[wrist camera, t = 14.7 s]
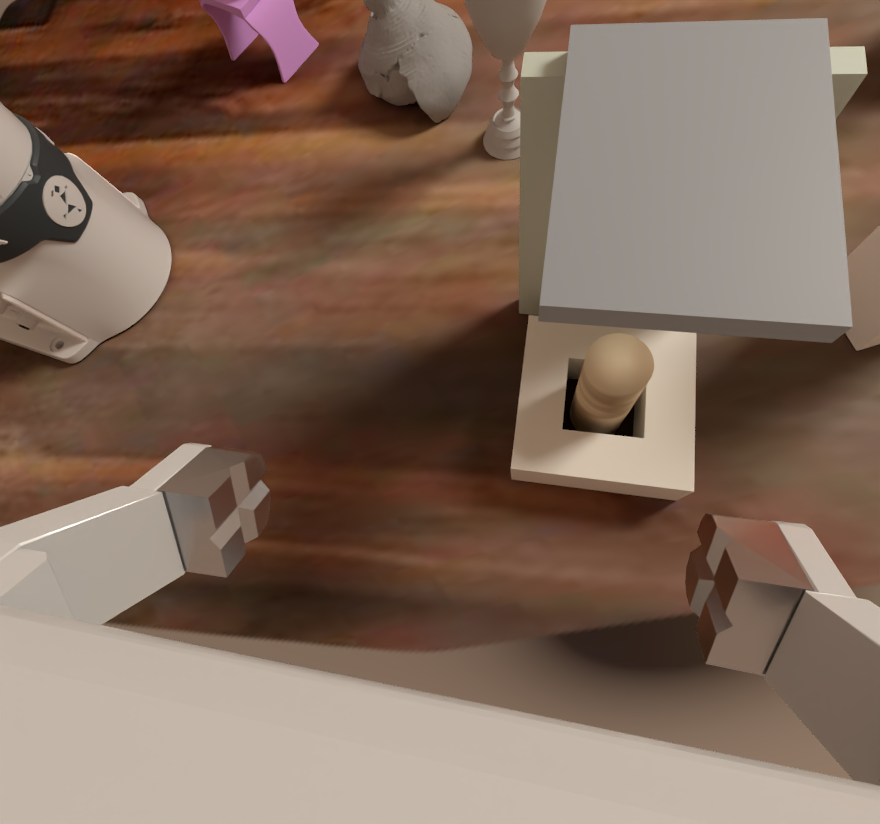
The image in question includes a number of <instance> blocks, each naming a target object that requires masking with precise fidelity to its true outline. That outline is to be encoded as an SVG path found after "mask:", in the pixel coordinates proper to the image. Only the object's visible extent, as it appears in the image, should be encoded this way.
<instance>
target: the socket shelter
mask: <svg viewBox="0 0 880 824" xmlns="http://www.w3.org/2000/svg"><path fill="white" fill-rule="evenodd" d="M867 74H868V73H867V64H866V55H865V46H857V47H830V46H829V34H828V22H827V18H815V19H777V20H739V21H701V22H664V23H626V24H588V25H571V30H570V39H569V48H568V52H524V58H523V65H522V72H521V105H520V227H519V314H531V315H529V318H528V327H527V335H526V344H525V352H524V360H523V369H522V377H521V386H520V394H519V402H518V411H517V419H516V428H515V436H514V445H513V453H512V461H511V479H512V480H519V481H527V482H535V483H543V484H550V485H558V486H566V487H574V488H581V489H589V490H597V491H605V492H612V493H620V494H628V495H636V496H644V497H651V498H659V499H667V500H675V501H677V500H679V499H681V498H683V497H685V496H687V495H689V494H690V493H692V492H694V468H695V397H696V333H702V334H716V335H729V336H743V337H756V338H770V339H783V340H797V341H810V342H824V343H832V342H834V341H835V340H836V339H838V338H839V337H840V336H841V335H843V334H844V333H845V332H847V331H848V330H849V329H851V328H852V327H853V324H852V312H851V300H850V288H849V276H848V264H847V252H846V239H845V227H844V215H843V203H842V191H841V179H840V167H839V155H838V143H837V131H836V119H837V117H838V116H839V115H840V113H841V112H842V110H843V109H844V107H845V106H846V104H847V103H848V101H849V100H850V99H851V97H852V96H853V94H854V93H855V91H856V90H857V88H858V87H859V85H860V84H861V83H862V81H863V80H864V78H865V77H866V75H867ZM533 315H539V316H533ZM614 333H623V334H628V335H631V336H634V337H636V338H638V339H639V340H641V341H642V342H643V343H644V344H645V345H646V346H647V347H648V348H649V350H650V351H651V353H652V356H653V359H654V371H653V375H652V377H651V379H650V380H649V382H648V383H647V385H646V387H645V388H644V390H643V391H642V393H641V394H640V396H639V397H638V399H637V400H636V402H635V404H634V423H633V437H628V436H619V435H610V434H600V433H591V432H582V431H573V430H564V429H562V427H563V416H564V405H565V394H566V383H567V378H568V379H579V377H580V374H581V370H582V367H583V364H584V360H585V357H586V354H587V351H588V349H589V348H590V346H591V345H592V344H593V343H594V342H595V341H596V340H597V339H599V338H601V337H603V336H605V335H608V334H614Z"/></svg>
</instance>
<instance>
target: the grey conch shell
mask: <svg viewBox="0 0 880 824" xmlns="http://www.w3.org/2000/svg"><path fill="white" fill-rule="evenodd" d="M363 1H364V3H365V5H366V7H367V8H368V9H369V10H370V11H372V12H371V14H370V19H369V21H368V27H367V33H366V35H365V38H364V40H363V42H362V46H361V49H360V53H359V59H358V68H359V70H360V73H361V75H362V78H363V80H364V82H365V84H366V88H367V90H368V91H369V92H370V94H371V95H375V96H376V97H379V98H380V97H381V98H382V99H383V100H385V101H387V102H389V103H391V104H394V105H397V106H400V105H408V104H409V103H411V104H414V103H415V102H416V101H417V103H418V104H419V106H420V108H421V109H422V110H423V111H424V112H425V113H426V114H427V115H428V116H429V117H430V118H431V119H432V120H433V121H434V122H435V123H439V122H441V120H444V119H446V118H448V116H449V115H450V114H451V113H452V112H453V110H454V108H455V107H456V106H457V104H458V102H459V101H460V98H461V97H462V94H463V92H464V90H465V87H466V85H467V83H468V81H469V79H470V76H471V71H472V42H471V39H470V35H469V33H468V31H467V28H466V27H465V25H464V23H463V21H462V20H461V19H460V17H459V16H458V15H457V14H456V13H455V12H454V11H453V10H452V9H451V8H449V7H447V6H445V5H442V4H439V3H436V2H435V1H434V0H363Z"/></svg>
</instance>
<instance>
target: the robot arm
mask: <svg viewBox="0 0 880 824" xmlns="http://www.w3.org/2000/svg"><path fill="white" fill-rule="evenodd" d="M170 269H171V249H170V245H169V242H168V239H167V237H166V236H165V234H164V233H163V231H162V230H161V229H160V228H159V227H158V226H157V225H156V224H155V223H153V222H152V221H151V220H150V218H149V217H148V215H147V211H146V208H145V205H144V203H143V201H142V200H141V199H140V198H139V197H137V196H136V195H135V194H134V193H131V192H127V193H121V192H120V191H119V190H117V189H116V188H115V187H114V186H113V185H111V184H110V183H109V182H108V181H107V180H106V179H104V178H103V177H102V176H101V175H100V174H98V173H97V172H96V171H95V170H93V169H92V168H91V167H90V166H89V165H87V164H86V163H85V162H84V161H83V160H81V159H80V158H79V157H77V156H76V155H74V154H72V153H63V152H62V151H61V150H60V149H58V148H57V147H56V146H55V145H54V142H53V141H51V139H50V138H49V137H48V136H46V135H45V134H44V133H43V132H42V131H41V130H39V129H38V128H36V127H34V126H33V125H32V124H31V123H30V122H29V121H28V120H26V119H25V118H23V117H21V116H19V115H17V114H14V113H11V112H10V111H9V110H8V109H7V108H6V107H5V106H4V105H3V104H2V103H1V102H0V340H3V341H5V342H8V343H11V344H14V345H17V346H20V347H23V348H26V349H29V350H31V351H34V352H37V353H40V354H43V355H46V356H49V357H52V358H55V359H58V360H60V361H63V362H66V363H71V364H73V363H77V362H79V361H80V360H82V359H83V358H84V357H86V356H87V355H88V354H89V353H90V352H91V351H92V350H93V349H94V348H95V347H96V346H97V345H99V344H100V343H101V342H103V341H104V340H106V339H108V338H110V337H112V336H114V335H116V334H118V333H120V332H122V331H124V330H126V329H127V328H129V327H130V326H132V325H133V324H134V323H136V322H137V321H138V320H139V319H141V318H142V317H143V316H144V315H145V314H146V313H147V312H148V311H149V310H150V309H151V307H152V306H153V305H154V304H155V302H156V301H157V300H158V298H159V296H160V295H161V293H162V291H163V289H164V287H165V285H166V283H167V280H168V277H169V273H170ZM266 472H267V471H266V466H265V461H264V457H262V456H261V455H260V454H259V453H256V452H250V451H243V450H237V449H230V448H224V447H218V446H210V445H204V444H196V443H187V444H183V445H181V446H180V447H179V448H178V449H176V450H175V451H174V452H173V453H171V454H170V455H169V456H168V457H166V458H165V459H164V460H163V461H161V462H160V463H159V464H158V465H156V466H155V467H154V468H152V469H151V470H150V471H149V472H147V473H146V474H145V475H144V476H142V477H141V478H140V479H139V480H137V481H136V482H135V483H134V484H132V485H131V486H130V487H126V486H120V487H117V488H114V489H112V490H109V491H106V492H103V493H100V494H97V495H94V496H91V497H88V498H85V499H82V500H79V501H76V502H73V503H70V504H67V505H65V506H62V507H59V508H56V509H53V510H50V511H47V512H44V513H41V514H38V515H35V516H32V517H29V518H26V519H23V520H20V521H17V522H15V523H12V524H9V525H6V526H3V527H0V824H880V608H879V607H878V606H876V605H875V604H873V603H872V602H870V601H868V600H865V599H859V598H856V596H855V595H854V593H853V591H852V590H851V588H850V587H849V585H848V584H847V582H846V581H845V579H844V578H843V576H842V575H841V573H840V572H839V570H838V569H837V567H836V566H835V564H834V563H833V561H832V560H831V558H830V556H829V555H828V553H827V552H826V550H825V549H824V547H823V546H822V544H821V543H820V541H819V540H818V538H817V537H816V535H815V534H814V532H813V531H812V529H811V528H809V527H808V526H806V525H805V524H798V523H788V522H778V521H763V520H755V519H747V518H739V517H730V516H722V515H714V514H705V515H704V517H703V518H702V520H701V522H700V525H699V528H698V531H697V533H698V536H699V539H700V542H701V546H699V547H698V548H696V549H695V550H693V551H692V552H691V553H690V557H689V560H688V564H687V567H686V580H685V585H686V594H687V599H688V602H689V606H690V608H691V609H692V610H693V611H694V612H695V613H696V614H697V615H698V616H699V617H700V618H699V621H698V624H697V627H696V632H697V635H698V638H699V642H700V646H701V649H702V652H703V656H704V659H705V663H706V664H710V665H714V666H719V667H725V668H729V669H734V670H739V671H744V672H749V673H753V674H758V675H763V676H764V679H765V680H766V681H767V683H768V684H769V685H770V686H771V687H772V688H773V689H774V691H775V692H776V693H777V694H778V695H779V696H780V697H781V699H783V701H784V702H785V703H786V704H787V705H788V706H789V708H790V709H791V710H792V711H793V712H794V713H795V714H796V715H797V717H798V718H799V719H800V720H801V721H802V722H803V723H804V725H805V726H806V727H807V728H808V729H809V730H810V731H811V732H812V734H813V735H814V736H815V737H816V738H817V739H818V740H819V741H820V743H821V744H822V745H823V746H824V747H825V748H826V749H827V750H828V752H829V753H830V754H831V755H832V756H833V757H834V759H835V760H836V761H837V762H838V763H839V764H840V765H841V766H842V767H843V769H844V770H845V771H846V772H847V773H848V774H849V776H850V777H851V778H852V779H853V780H850V779H845V778H840V777H835V776H831V775H826V774H821V773H816V772H811V771H806V770H801V769H796V768H792V767H787V766H782V765H777V764H772V763H767V762H763V761H758V760H753V759H748V758H743V757H738V756H733V755H728V754H723V753H718V752H714V751H709V750H704V749H699V748H694V747H689V746H684V745H680V744H675V743H670V742H665V741H660V740H655V739H651V738H646V737H641V736H636V735H631V734H626V733H622V732H617V731H612V730H607V729H602V728H598V727H593V726H588V725H583V724H578V723H573V722H568V721H564V720H559V719H554V718H549V717H544V716H539V715H535V714H530V713H525V712H520V711H515V710H511V709H506V708H501V707H496V706H491V705H486V704H482V703H477V702H472V701H467V700H462V699H457V698H452V697H448V696H443V695H438V694H433V693H428V692H423V691H419V690H414V689H409V688H404V687H399V686H394V685H389V684H384V683H379V682H375V681H370V680H365V679H360V678H355V677H350V676H345V675H341V674H336V673H331V672H326V671H321V670H316V669H311V668H307V667H302V666H297V665H292V664H287V663H282V662H278V661H273V660H268V659H263V658H258V657H253V656H248V655H243V654H239V653H234V652H229V651H224V650H219V649H214V648H209V647H205V646H200V645H195V644H190V643H185V642H180V641H176V640H171V639H166V638H161V637H156V636H151V635H147V634H141V633H136V632H132V631H127V630H122V629H117V628H112V627H108V626H103V625H102V624H103V623H105V622H106V621H108V620H110V619H111V618H113V617H115V616H116V615H118V614H120V613H121V612H123V611H124V610H126V609H128V608H129V607H131V606H133V605H134V604H136V603H138V602H139V601H141V600H142V599H144V598H146V597H147V596H149V595H151V594H152V593H154V592H156V591H157V590H159V589H160V588H162V587H164V586H165V585H167V584H169V583H170V582H172V581H174V580H175V579H177V578H178V577H180V576H182V575H183V574H185V572H184V571H186V572H193V573H200V574H206V575H213V576H220V577H228V576H229V574H230V573H231V572H232V570H233V569H234V568H235V566H236V565H237V564H238V563H239V561H240V560H241V559H242V557H243V556H244V555H245V553H246V548H245V543H247V542H249V541H251V540H253V539H255V538H257V537H258V536H259V535H260V534H261V532H262V531H263V529H264V528H265V527H266V524H267V521H268V518H269V516H270V513H271V495H270V490H269V489H268V488H267V487H266V485H265V484H264V483H263V482H262V481H261V479H262V478H263V477H264V475H265V474H266Z"/></svg>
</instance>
